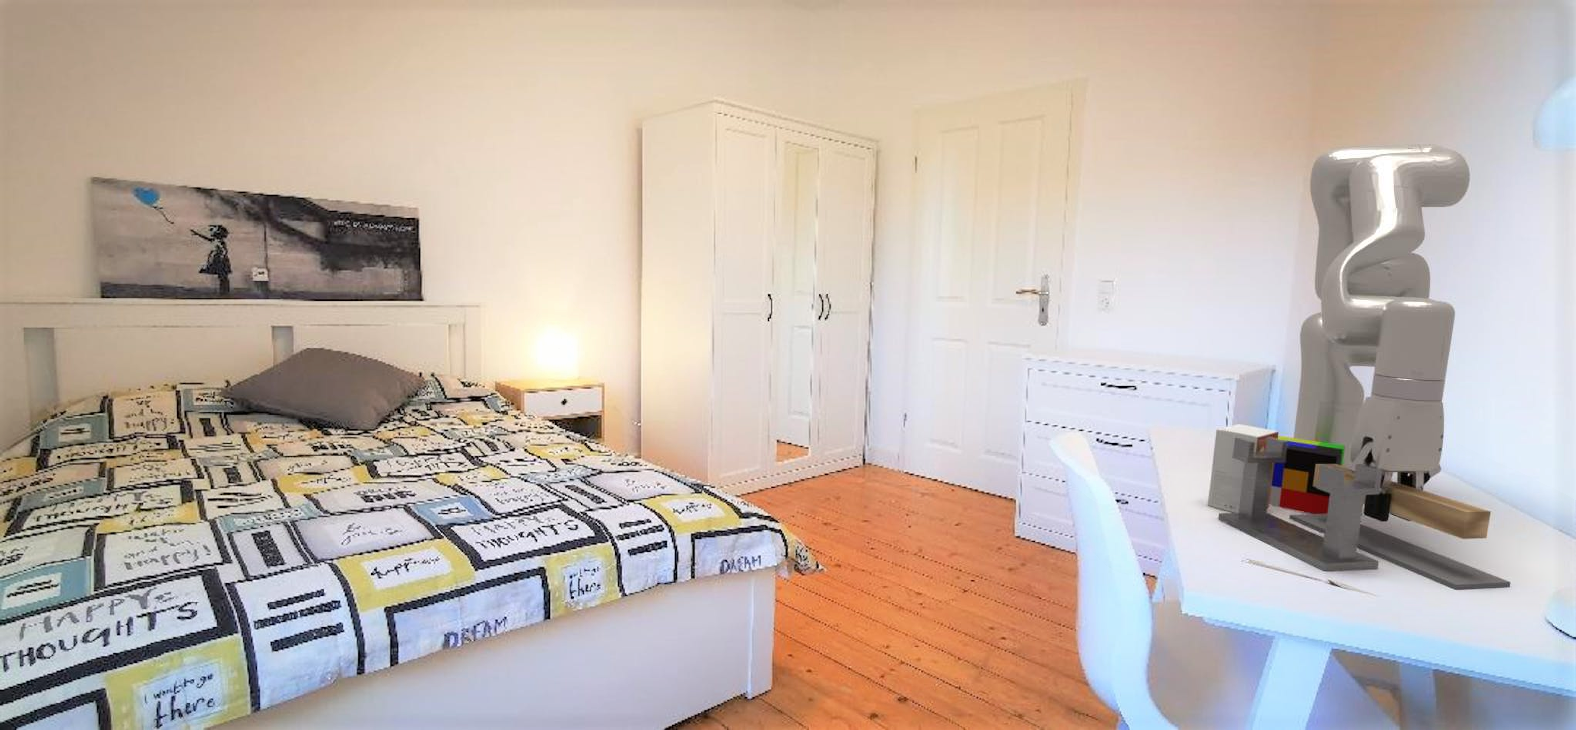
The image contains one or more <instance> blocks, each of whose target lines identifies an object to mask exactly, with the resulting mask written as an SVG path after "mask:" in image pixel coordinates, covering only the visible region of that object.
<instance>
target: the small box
mask: <svg viewBox="0 0 1576 730" xmlns="http://www.w3.org/2000/svg"><path fill="white" fill-rule="evenodd" d="M1279 432H1280V431H1278V430H1273V429H1267V428H1263V427H1257V426H1254V425H1253V426H1251V425H1246V424H1243V423H1242V424H1241V423H1237V424H1234V425H1227V426H1224V427H1221V428H1219V429H1217V428H1216V433H1215V439H1214V449H1213V457H1212V464H1211V465H1212V466H1211V477H1210V484H1209V492H1208V493H1209V494H1208V501H1207V506H1209V507H1212V506H1213V507H1212V508H1216V509H1219V508H1220V510H1224V511H1227V512H1230V511H1231V512H1230V513H1239V505H1240V497H1241V488H1242V480H1243V471H1244V463H1245V462H1242V461H1239V460H1237V459H1234V458H1232V457H1233V450H1234V442H1235V438H1239V437H1240V438H1243V439H1246V440H1249V441H1252V442H1255V446H1254V452H1265V451H1266V442H1267V437H1273V438H1276V439H1278V436H1279ZM1273 470H1274V463H1272V471H1271V479H1270V487H1269V496H1268V504H1267V509H1268V508H1269V507H1270V505H1269V501H1270V493H1271V485H1272V478H1273Z"/></svg>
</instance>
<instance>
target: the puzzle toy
mask: <svg viewBox="0 0 1576 730" xmlns="http://www.w3.org/2000/svg"><path fill="white" fill-rule="evenodd" d="M1278 439H1280V440H1283V441H1286V442H1288V444H1287V452H1286V462H1285V463H1274V470H1273V478H1272V485H1271V493H1270V501H1269V506H1273V507H1278V508H1283V509H1287V510H1292V511H1298V512H1302V513H1305V514H1327V513H1328V506H1329V499H1330V493H1328V492H1325V491H1322V490H1320V489H1317V488H1316V487H1314V486H1313V481H1314V473H1315V466H1316V464H1338V465H1341V466H1342V465H1343V458H1344V451H1345V446H1343V445H1336V444H1329V443H1323V442H1316V441H1310V440H1303V439H1296V438H1294V437H1289V436H1283V435H1278Z"/></svg>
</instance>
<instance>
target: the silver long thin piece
mask: <svg viewBox="0 0 1576 730" xmlns="http://www.w3.org/2000/svg"><path fill="white" fill-rule="evenodd" d="M1244 558H1245V559H1246V560H1249V561H1248V562H1250V563H1249V564H1251V563H1253V564H1252V565H1255V564H1256V566H1259V565H1261V566H1260V567H1263V566H1264V567H1263V568H1267V569H1271V568H1272V570H1276V571H1280V572H1283V573H1287V574H1292V575H1294V576H1299V577H1304V578H1307V579H1308V578H1309V579H1314V580H1318V581H1322V582H1326V583H1330V584H1331V585H1333V586H1335V587H1336V586H1337V587H1340V588H1343V589H1347V590H1349V591H1353V592H1357V593H1361V594H1366V595H1370V596H1375V597H1380V596H1379V595H1378V594H1377V595H1376V594H1373V593H1371V592H1368V591H1366V590H1362V589H1360V588H1356V587H1354V586H1351V585H1348V584H1345V583H1343V582H1340V581H1339V582H1338V581H1336V580H1334V579H1331V578H1328V577H1325V579H1326V580H1323V579H1320V578H1317V577H1313V576H1311V575H1307V574H1304V573H1300V572H1296V571H1292V570H1289V569H1286V568H1283V567H1279V566H1274V565H1272V564H1268V563H1266V562H1261V561H1257V560H1254V559H1249V558H1246V557H1244ZM1241 560H1242V561H1241V562H1243V561H1246V560H1243V559H1241Z"/></svg>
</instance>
